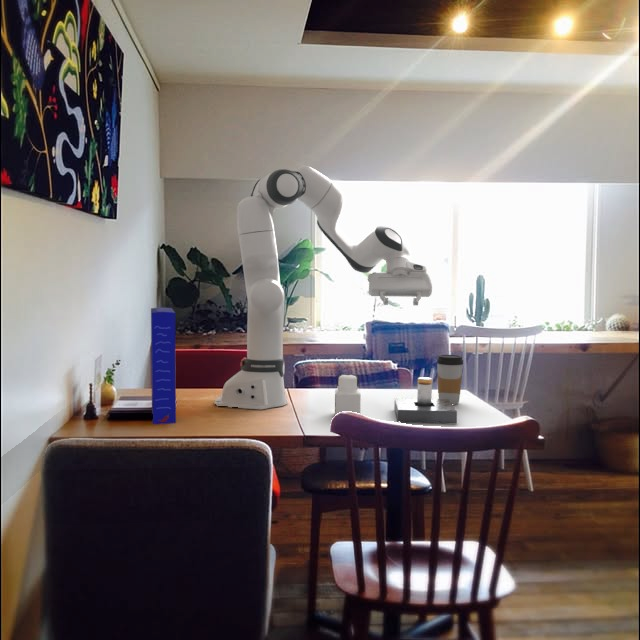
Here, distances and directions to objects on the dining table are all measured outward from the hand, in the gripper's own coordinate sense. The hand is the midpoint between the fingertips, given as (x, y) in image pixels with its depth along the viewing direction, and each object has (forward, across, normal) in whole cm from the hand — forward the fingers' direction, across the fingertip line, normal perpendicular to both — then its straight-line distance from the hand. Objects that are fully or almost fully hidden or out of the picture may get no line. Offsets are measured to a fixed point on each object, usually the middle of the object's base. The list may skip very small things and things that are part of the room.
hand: (400, 304), depth 192 cm
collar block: (+36, +6, +8) cm, 37 cm away
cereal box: (+40, -68, +4) cm, 80 cm away
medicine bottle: (+37, -16, +7) cm, 41 cm away
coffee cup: (+22, +16, +23) cm, 35 cm away
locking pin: (+36, +6, +8) cm, 37 cm away
